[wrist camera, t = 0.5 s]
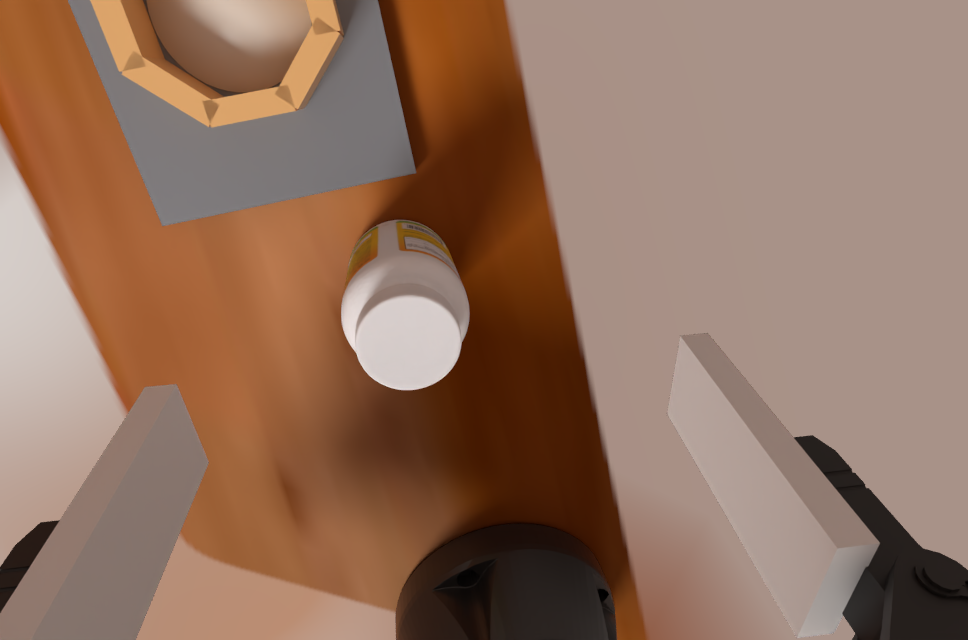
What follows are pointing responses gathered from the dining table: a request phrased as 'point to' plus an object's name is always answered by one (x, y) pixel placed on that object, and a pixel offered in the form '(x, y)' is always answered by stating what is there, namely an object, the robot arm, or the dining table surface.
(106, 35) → the socket plate
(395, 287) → the supplement bottle
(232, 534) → the dining table surface
